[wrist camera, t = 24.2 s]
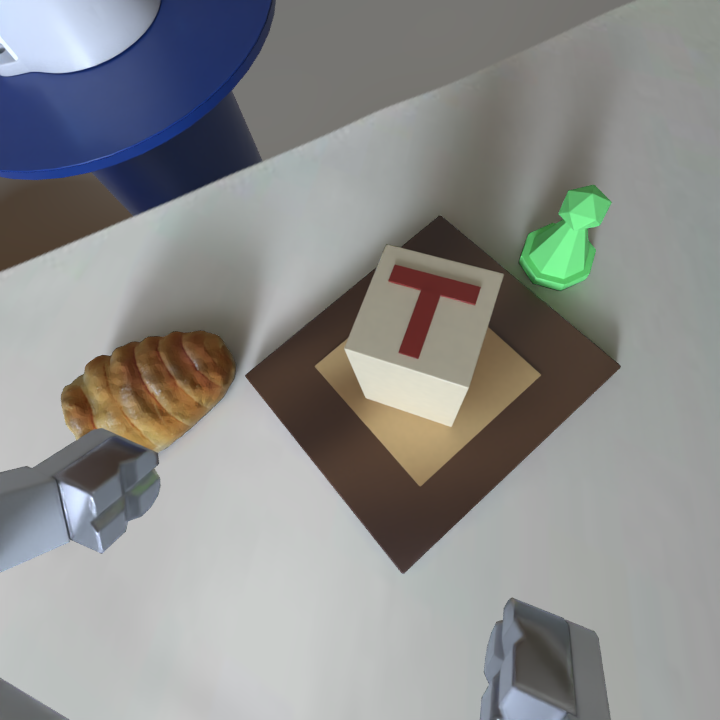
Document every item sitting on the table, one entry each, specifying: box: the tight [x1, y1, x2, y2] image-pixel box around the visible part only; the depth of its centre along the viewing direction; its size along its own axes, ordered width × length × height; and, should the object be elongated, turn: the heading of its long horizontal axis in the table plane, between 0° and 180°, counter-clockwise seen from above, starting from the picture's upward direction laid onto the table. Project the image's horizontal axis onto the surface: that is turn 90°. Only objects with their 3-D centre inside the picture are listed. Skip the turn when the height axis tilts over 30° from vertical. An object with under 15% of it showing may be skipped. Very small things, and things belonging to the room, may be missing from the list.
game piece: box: [519, 185, 612, 291], centre depth 24 cm, size 4×4×6 cm
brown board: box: [245, 215, 621, 574], centre depth 25 cm, size 14×16×1 cm
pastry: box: [61, 330, 236, 453], centre depth 25 cm, size 9×7×4 cm
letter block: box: [344, 244, 504, 427], centre depth 21 cm, size 5×5×8 cm
